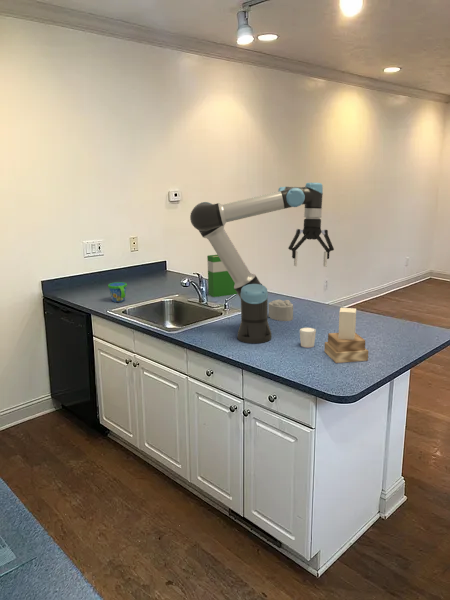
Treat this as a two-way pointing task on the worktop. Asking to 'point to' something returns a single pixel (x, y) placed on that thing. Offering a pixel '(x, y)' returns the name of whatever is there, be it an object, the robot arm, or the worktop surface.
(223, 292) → the hardback book
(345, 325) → the cream brick
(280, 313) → the lumpy-topped squat cylinder
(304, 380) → the worktop surface
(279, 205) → the robot arm
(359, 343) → the block tower
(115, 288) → the snack cup
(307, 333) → the shot glass
